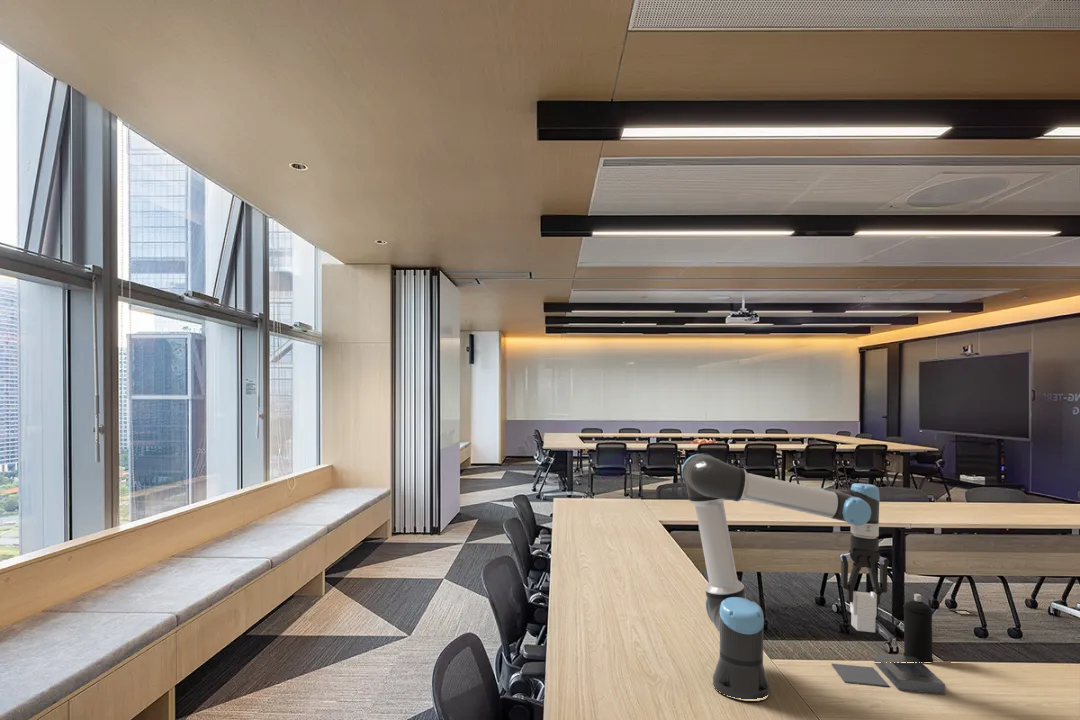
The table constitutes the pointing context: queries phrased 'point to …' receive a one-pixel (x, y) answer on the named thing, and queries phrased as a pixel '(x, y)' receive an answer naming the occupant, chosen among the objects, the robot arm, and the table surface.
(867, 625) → the rectangular peg block
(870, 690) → the table surface
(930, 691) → the square hole plate
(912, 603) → the aerosol can
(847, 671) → the rubber pad
